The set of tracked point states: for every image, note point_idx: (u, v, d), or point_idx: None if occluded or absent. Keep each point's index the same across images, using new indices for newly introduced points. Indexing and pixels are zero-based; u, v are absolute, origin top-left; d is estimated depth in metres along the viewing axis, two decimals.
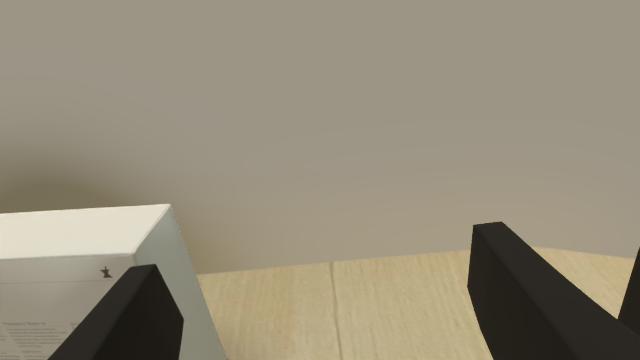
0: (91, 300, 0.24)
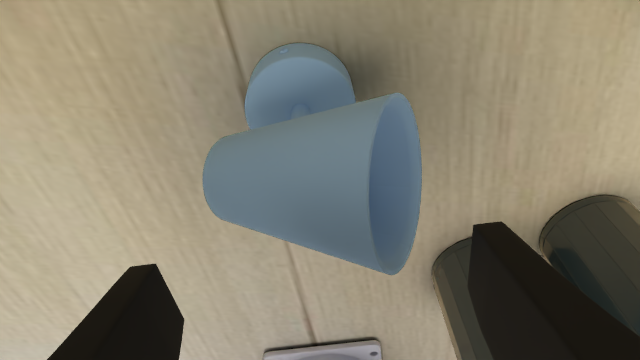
0: None
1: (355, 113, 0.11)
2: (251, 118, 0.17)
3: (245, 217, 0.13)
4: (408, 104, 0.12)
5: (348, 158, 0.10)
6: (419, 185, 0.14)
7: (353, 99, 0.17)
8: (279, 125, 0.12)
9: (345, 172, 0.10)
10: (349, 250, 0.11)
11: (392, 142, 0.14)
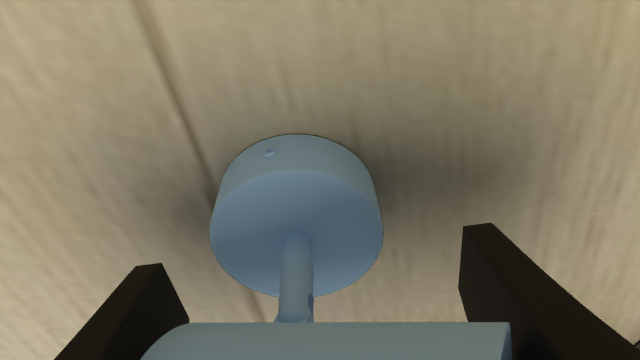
0: None
1: None
2: (220, 251, 0.11)
3: None
4: (508, 327, 0.06)
5: None
6: None
7: (379, 225, 0.11)
8: None
9: None
10: None
11: None
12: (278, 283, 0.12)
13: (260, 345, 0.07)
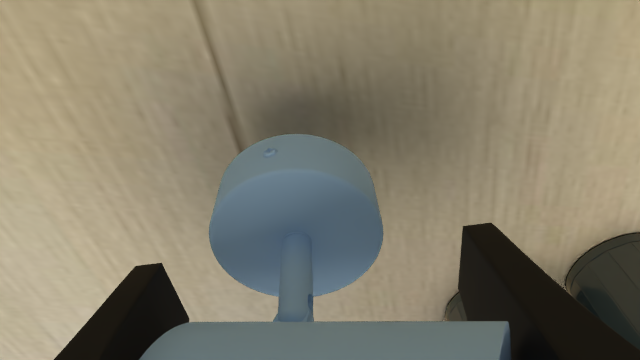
0: None
1: None
2: (220, 250, 0.11)
3: None
4: (507, 326, 0.06)
5: None
6: None
7: (379, 225, 0.11)
8: None
9: None
10: None
11: None
12: (278, 282, 0.12)
13: (259, 344, 0.07)
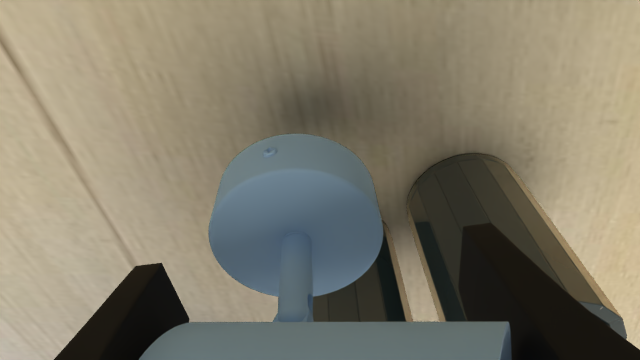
0: None
1: None
2: (220, 250, 0.11)
3: None
4: (508, 327, 0.06)
5: None
6: None
7: (379, 225, 0.11)
8: None
9: None
10: None
11: None
12: (277, 283, 0.12)
13: (259, 344, 0.07)
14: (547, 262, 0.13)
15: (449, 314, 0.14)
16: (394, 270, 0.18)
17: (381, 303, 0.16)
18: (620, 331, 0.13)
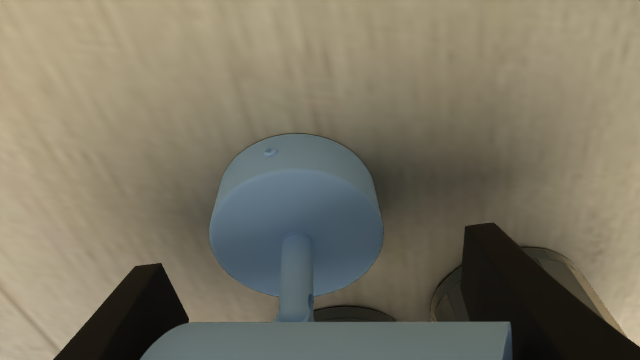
0: None
1: None
2: (220, 250, 0.11)
3: None
4: (509, 326, 0.06)
5: None
6: None
7: (380, 225, 0.11)
8: None
9: None
10: None
11: None
12: (278, 283, 0.12)
13: (260, 344, 0.07)
14: None
15: None
16: None
17: None
18: None
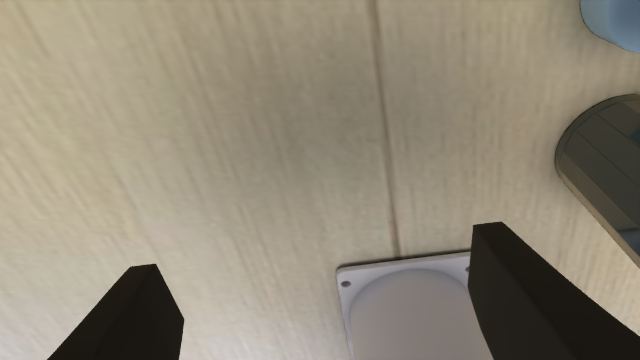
0: None
1: None
2: None
3: None
4: None
5: None
6: None
7: None
8: None
9: None
10: None
11: None
12: None
13: None
14: None
15: None
16: None
17: None
18: None
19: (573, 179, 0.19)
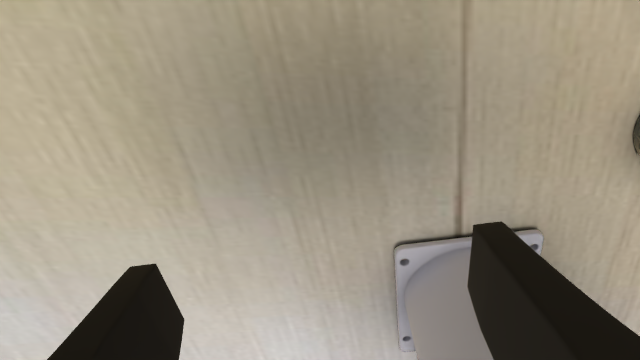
0: None
1: None
2: None
3: None
4: None
5: None
6: None
7: None
8: None
9: None
10: None
11: None
12: None
13: None
14: None
15: None
16: None
17: None
18: None
19: None
